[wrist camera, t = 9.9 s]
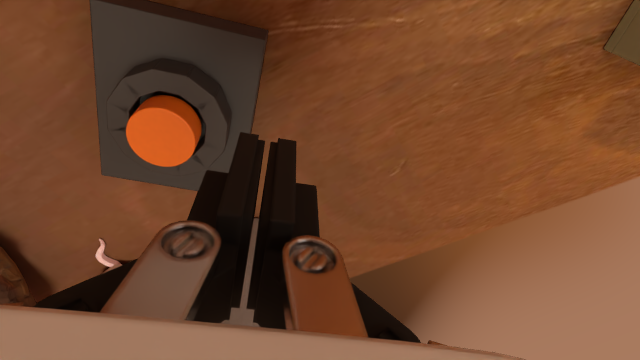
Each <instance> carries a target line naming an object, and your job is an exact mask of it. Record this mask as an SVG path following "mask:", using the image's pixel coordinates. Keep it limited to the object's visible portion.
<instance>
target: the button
mask: <svg viewBox="0 0 640 360" xmlns="http://www.w3.org/2000/svg"><path fill="white" fill-rule="evenodd" d="M201 132H202V127H201V122H200V119H199V117H198V115H197V113H196V112H195V110H194V109H193V108H192V107H191V106H190V105H189V104H187V103H186V102H185V101H183V100H181V99H179V98H176V97H173V96H168V95H157V96H153V97H150V98H148V99H146V100H145V101H144V102H143V103H142V104H141V105H140V106H139V107H138V109H137V110H136V111H135V112H134V113H133V115H132V116H131V117H130V119H129V120H128V123H127V126H126V137H127V140H128V143H129V145H130V147H131V148H132V149H133V151H134V152H135V153H136V154H137V155H138V156H139V157H140V158H142V159H143V160H145V161H147V162H149V163H151V164H154V165H157V166H163V167H172V166H177V165H180V164H182V163H184V162H186V161H187V160H188V159H189V158H190V157H191V156H192V154H193V153H194V150H195V148H196V146H197V144H198V141H199V139H200V136H201Z"/></svg>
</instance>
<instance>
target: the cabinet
mask: <svg viewBox="0 0 640 360" xmlns="http://www.w3.org/2000/svg"><path fill="white" fill-rule="evenodd" d="M604 50H607V51H609V52H611V53H613V54H615V55H618V56H620V57H622V58H624V59H626V60H629V61H631V62H633V63H635V64H637V65H640V0H634V1H633V3H632V4H631V6H630V8H629V9H628V11H627V12H626V14H625V15H624V17H623V19H622V20H621V22H620V23H619V25H618V26H617V28H616V30H615V31H614V33H613V34H612V36H611V37H610V39H609V41H608V42H607V44H606V45H605V47H604Z"/></svg>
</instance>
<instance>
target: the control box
mask: <svg viewBox="0 0 640 360" xmlns="http://www.w3.org/2000/svg"><path fill="white" fill-rule="evenodd" d="M90 12H91V27H92V41H93V56H94V70H95V85H96V99H97V114H98V128H99V143H100V157H101V172H102V175H105V176H111V177H117V178H123V179H129V180H135V181H141V182H147V183H153V184H159V185H165V186H171V187H177V188H183V189H188V190H194V191H198V190H199V188H200V185H201V183H202V180H203V177H204V175H205V172H206V170H211V171H218V172H225V173H229V169H230V166H231V163H232V159H233V156H234V152H235V149H236V145H237V142H238V138H239V135H240V132H243V133H249V134H251V131H252V125H253V119H254V114H255V108H256V102H257V96H258V90H259V84H260V78H261V72H262V66H263V60H264V55H265V49H266V43H267V37H268V30H265V29H261V28H257V27H253V26H249V25H245V24H241V23H237V22H232V21H228V20H224V19H220V18H216V17H212V16H208V15H204V14H200V13H195V12H191V11H187V10H183V9H179V8H175V7H171V6H167V5H162V4H158V3H154V2H150V1H146V0H90ZM157 95H168V96H173V97H176V98H179V99H181V100H183V101H185V102H186V103H187V104H189V105H190V106H191V107H192V108H193V109H194V110H195V112H196V113H197V115H198V117H199V119H200V122H201V127H202V132H201V136H200V139H199V141H198V144H197V146H196V148H195V150H194V153H193V154H192V156H191V157H190V158H189V159H188V160H187V161H186V162H184V163H182V164H180V165H177V166H172V167H163V166H157V165H154V164H151V163H149V162H147V161H145V160H143V159H142V158H140V157H139V156H138V155H137V154H136V153H135V152H134V151H133V149H132V148H131V147H130V145H129V143H128V140H127V137H126V126H127V123H128V120H129V119H130V117H131V116H132V115H133V113H134V112H135V111H136V110H137V109H138V107H139V106H140V105H141V104H142V103H143V102H144V101H145V100H146V99H148V98H150V97H153V96H157Z"/></svg>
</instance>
